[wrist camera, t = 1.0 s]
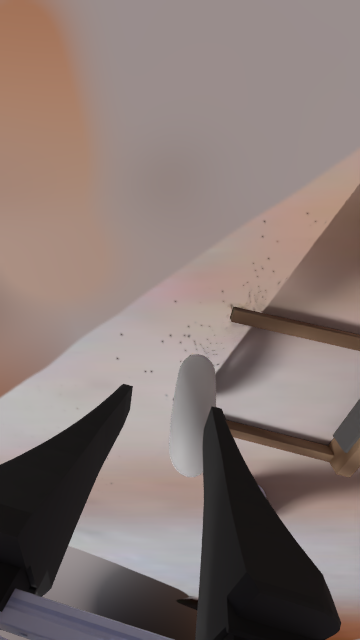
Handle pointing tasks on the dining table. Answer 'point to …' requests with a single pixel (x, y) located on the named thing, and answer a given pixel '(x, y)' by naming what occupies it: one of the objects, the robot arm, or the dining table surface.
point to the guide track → (343, 452)
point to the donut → (191, 413)
